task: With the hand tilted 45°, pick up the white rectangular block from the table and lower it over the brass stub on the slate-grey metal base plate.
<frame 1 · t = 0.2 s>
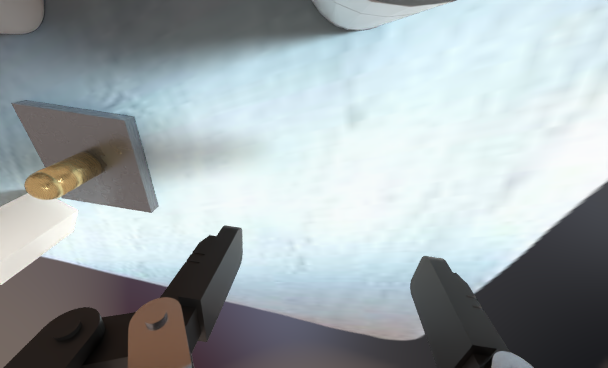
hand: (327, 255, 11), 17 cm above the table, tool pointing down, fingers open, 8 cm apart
white rectangular block: (56, 211, 37), on the table
base plate: (99, 158, 31), on the table
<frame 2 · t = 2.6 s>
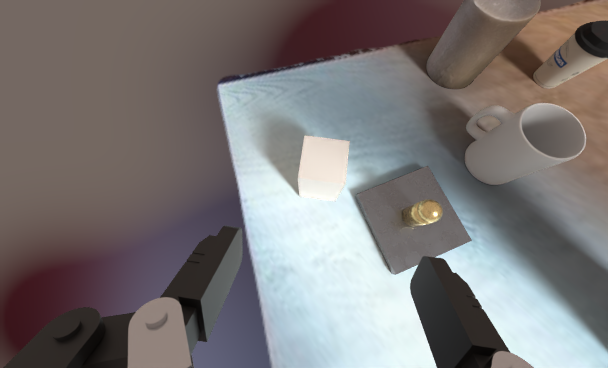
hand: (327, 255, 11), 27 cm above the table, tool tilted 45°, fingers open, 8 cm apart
mug: (479, 155, 41), on the table
coffee cup: (544, 79, 46), on the table
pillar candle: (448, 69, 47), on the table
white rectangular block: (319, 181, 40), on the table
base plate: (408, 218, 38), on the table
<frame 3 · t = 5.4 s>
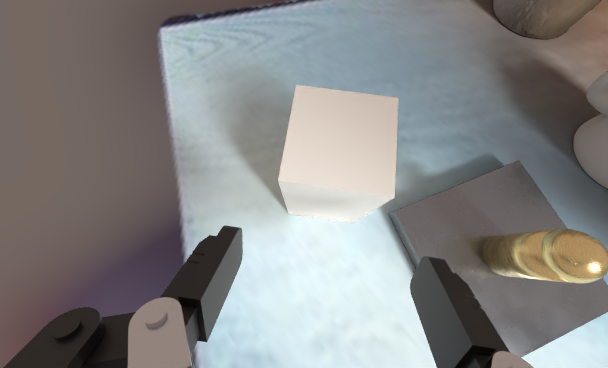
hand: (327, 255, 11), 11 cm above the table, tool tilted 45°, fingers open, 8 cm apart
mug: (596, 145, 24), on the table
pillar candle: (527, 11, 30), on the table
white rectangular block: (324, 187, 22), on the table
base plate: (488, 255, 21), on the table
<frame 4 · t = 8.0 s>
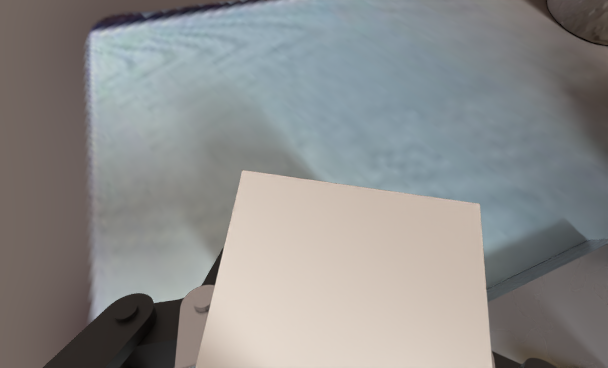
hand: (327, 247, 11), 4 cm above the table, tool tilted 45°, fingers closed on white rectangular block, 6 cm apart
pillar candle: (592, 9, 22), on the table
white rectangular block: (317, 277, 15), on the table, touching gripper
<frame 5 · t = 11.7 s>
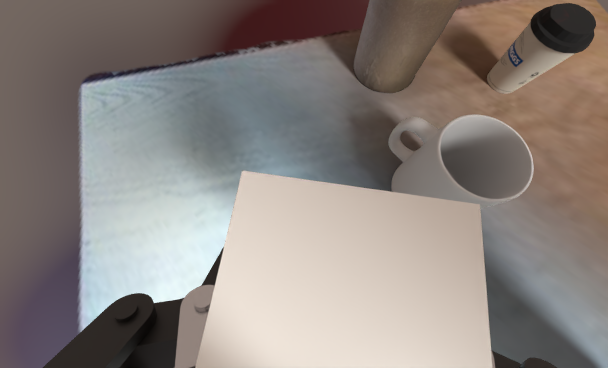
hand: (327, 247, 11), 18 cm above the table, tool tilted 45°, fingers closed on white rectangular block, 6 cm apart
mug: (411, 180, 31), on the table
coffee cup: (500, 81, 36), on the table
pillar candle: (382, 68, 37), on the table
white rectangular block: (317, 278, 15), point 14 cm above the table, touching gripper
when the fingers open (7 cm above the table, at t = 15.4 s): white rectangular block stays where it is, resting on base plate.
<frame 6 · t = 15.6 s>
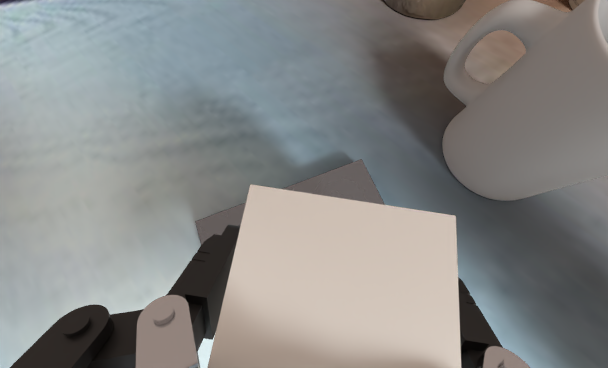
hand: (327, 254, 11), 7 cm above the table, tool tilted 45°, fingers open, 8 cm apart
mug: (471, 141, 21), on the table
coffee cup: (588, 7, 25), on the table
white rectangular block: (316, 278, 15), point 1 cm above the table, touching base plate
base plate: (314, 274, 17), on the table
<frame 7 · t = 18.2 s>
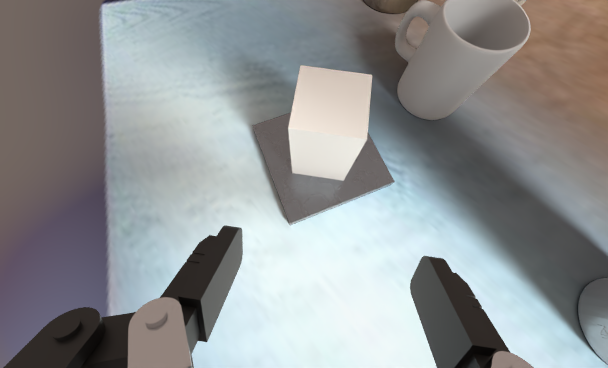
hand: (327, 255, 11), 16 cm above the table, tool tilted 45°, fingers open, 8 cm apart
mug: (416, 87, 33), on the table
coffee cup: (500, 6, 38), on the table
white rectangular block: (321, 153, 28), point 1 cm above the table, touching base plate
base plate: (319, 157, 30), on the table
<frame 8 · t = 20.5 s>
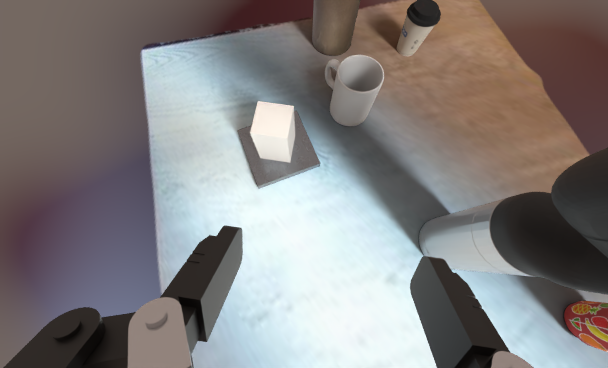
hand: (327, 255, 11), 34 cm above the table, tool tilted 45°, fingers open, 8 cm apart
mug: (342, 105, 52), on the table
coffee cup: (405, 49, 57), on the table
pillar candle: (331, 41, 58), on the table
white rectangular block: (278, 146, 47), point 1 cm above the table, touching base plate
smoothie: (579, 320, 40), on the table
base plate: (278, 149, 49), on the table
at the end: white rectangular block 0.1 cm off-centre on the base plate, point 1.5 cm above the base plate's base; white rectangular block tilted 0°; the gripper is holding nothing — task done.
